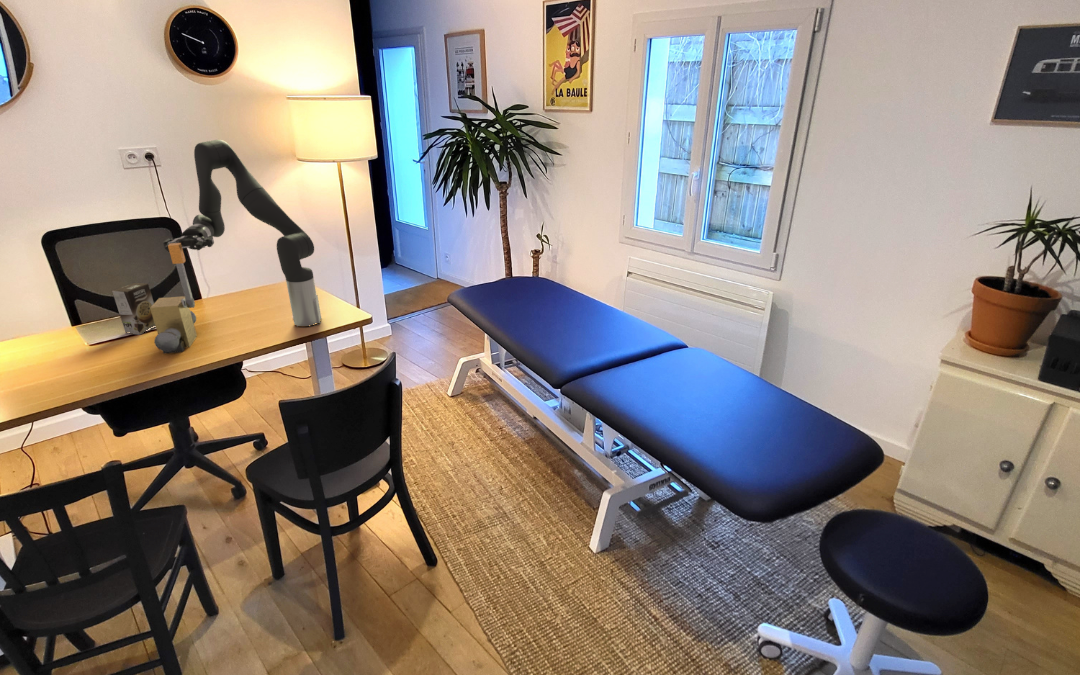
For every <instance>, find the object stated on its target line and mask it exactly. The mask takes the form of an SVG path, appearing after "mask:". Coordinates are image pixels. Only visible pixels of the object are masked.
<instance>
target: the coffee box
mask: <svg viewBox="0 0 1080 675" xmlns="http://www.w3.org/2000/svg"><path fill="white" fill-rule="evenodd" d="M111 291H112V294H113V298H114V302H115V304H116V307H117V310H118V313H119V314H118V315H119V317H120V320H121V323H122V327H123V330H124V332H130V333H133V334H132V335H139V336H140V335H142V334H144V332H145V331H146V330H148V329H149V328H151V327H153V326H155V323H154V319H153V316H152V313H151V309H150V307H151V306H152V305H153V304H154V303H155V301H154V299H153V294H152V292H151V289H150V285H149V283H145V282H139V283H138V282H132V283H129V284H126V285H124V286H121V287H118V288H116V289H113V290H111ZM145 333H146V332H145Z"/></svg>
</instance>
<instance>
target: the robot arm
mask: <svg viewBox="0 0 1080 675" xmlns="http://www.w3.org/2000/svg"><path fill="white" fill-rule="evenodd" d="M193 154H194V155H193V156H194V163H195V171H196V175H197V181H198V190H199V191H198V194H199V197H198V199H199V200H198V211H199V213H200V214H196V215H195V217H194V218H193V220H192V225H189V227H187V228H186V229H185V230H183V231H182V233H181V234H180V237H177V238H173V237H169V238H167V239H165V240H164V241H162V245H163V248H164V250H166V252H168V253H170V252H169V248H168V245H169V244H170V243H181V245H182V249H189V250H194V251H195V250H196V251H200V250H202V249H204V248H206V247H208V248H212V247H213V245H214V244H215V241H214V238H220V237H221V236H223V235H224V233H225V230H226V229H225V228H226V227H225V222H224V219H223V216H222V211H221V210H222V194H221V192H220V189H219V188H218V187H217V186H216V184H215V182H214V181H213V178H212V174H213V171H214V170H218V169H223V168H225V169H226V170H228V171H229V172H230V174H231V176H233V178H234V180H235V184H236V185H235V186H236V195H237V198H238V202H239V203H240V204H241V205H242V206H243V207H244V209H245V210H247V212H248V213H249V214H250V215H251V216H252V217H253V218H255V219H257V220H259V221H260V222H262V223H264V224H266V225H268V226H270V227H273V228H274V229H276V230H277V231H278V232H280V233H281V234H282V235H283V236H281V237H279V238H278V239H277V242H276V251H277V256H278V257H277V258H278V260H279V264H280V265H279V266H280V268H281V272H282V273H283V275H284V278H285V282H286V288H287V293H288V298H289V305H290V308H291V313H292V321H293V324H295V325H297V326H296V327H298V326H309V325H313V324H315V323H320V324H321V322H320V319H321V320H322V313H321V309H320V302H319V297H318V294H317V291H316V289H317V288H316V283H315V279H314V278H315V277H314V272H313V270H312V268H310V267H306V266H302V263H301V260H303V259H306V258H309V257H310V256H312V255H313V254H314V252H315V244H314V242H313V240H312V239H311V237H310V236H309V235H308V234H307V233H306V231H304V230H303V229H302V228H301V227H300V225H298V224H297V223H296V222H295V221H294V220H293V219H292V218H291V217H290V216H289V215H288V214H287V213H286V212H285V211H284V210H283V209H282V208H281V207H280V205H278V203H277V202H276V200H274V199H273V197H272V196H271V194H270V193H269V192H267V190H266V189H265V188H264V187H263V185H261V184H260V182H259V181H258V180H257V179H256V178H255V177H254V176H253V175H252V173H251V172H250V171H249V169H248V168H247V166H245V164H244V162H243V161H242V160H241V159H240V157H239V156H238V154H237V153H236V152H235V150H234V149H233V148H232V147H231V145H230V144H229V143H228V142H226V141H225V140H222V139H214V140H209V141H208V140H207V141H202V142H198V143H197V144H195V147H194V151H193ZM295 325H294V326H295ZM309 327H310V326H309Z"/></svg>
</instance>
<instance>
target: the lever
mask: <svg viewBox="0 0 1080 675" xmlns="http://www.w3.org/2000/svg"><path fill="white" fill-rule="evenodd" d="M168 248H169V252H168V253H169V254H170V258H171V262H172V265H176V269H177V274H178V277H179V281H180V284H181V287H182V292H183V294H184V296H185V299H186V306H187V307H188V308H189V309H192V308H193V309H194V308H195V306H196V302H195V299H194V297H193V293H192V290H191V286H190V283H189V279H188V275H187V272H186V268H185V265H184V264H185V263H186V256H185V253H184V248H182V245H181V243H170V244H169V245H168Z"/></svg>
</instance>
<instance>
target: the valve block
mask: <svg viewBox="0 0 1080 675" xmlns="http://www.w3.org/2000/svg"><path fill="white" fill-rule="evenodd" d="M150 309H151V313H152V316H153V319H154V323H155V326H156V327H155V329H156V333H157V334H156V336H155V338H154V345H155V347H156V348H157V349H158V350H160V351H162V354H163V355H166V354H175V353H183V352H184V351H185V349H186V348H190V347H191V346H192V345H193V343H194V342H195V340H196V338H197V337H198V334H197V331H196V327H195V324H196V323H197V322H196V321H197V316H196V314H195V313H194V311H192V310H191V308H188V307H187V306H186V299H185V295H184V296H183V295H182V296H181V295H180V296H171V297H158V299H157V300H156V301H154V304H153V305H152V306H151V307H150Z"/></svg>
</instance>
